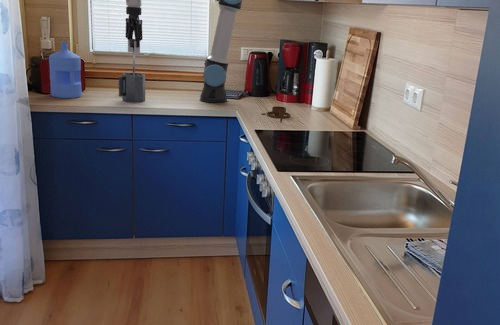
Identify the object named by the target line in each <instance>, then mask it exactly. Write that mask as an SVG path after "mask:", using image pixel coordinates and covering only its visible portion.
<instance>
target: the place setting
mask: <svg viewBox="0 0 500 325" xmlns="http://www.w3.org/2000/svg"><path fill="white" fill-rule="evenodd" d="M286 111H287V108H286V107H284V106H278V105H277V106H276V105H275V106H272V108H271V111H267V112H266V113H265V112H264V113H261V115H267V117H270V118H273V119H280V121H279V123H283V119H289V118H291V113H290V112H286Z"/></svg>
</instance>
